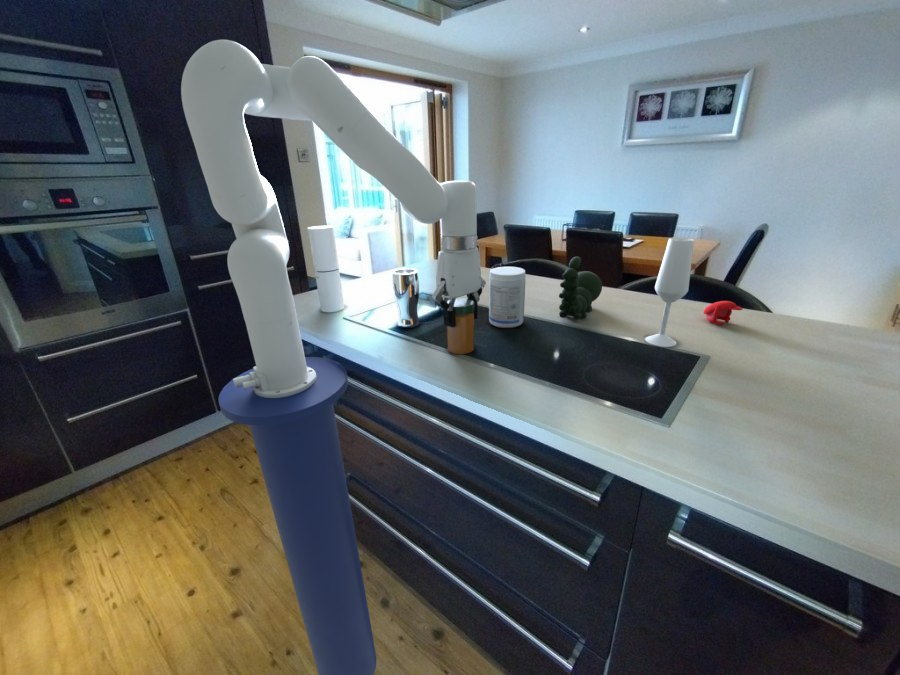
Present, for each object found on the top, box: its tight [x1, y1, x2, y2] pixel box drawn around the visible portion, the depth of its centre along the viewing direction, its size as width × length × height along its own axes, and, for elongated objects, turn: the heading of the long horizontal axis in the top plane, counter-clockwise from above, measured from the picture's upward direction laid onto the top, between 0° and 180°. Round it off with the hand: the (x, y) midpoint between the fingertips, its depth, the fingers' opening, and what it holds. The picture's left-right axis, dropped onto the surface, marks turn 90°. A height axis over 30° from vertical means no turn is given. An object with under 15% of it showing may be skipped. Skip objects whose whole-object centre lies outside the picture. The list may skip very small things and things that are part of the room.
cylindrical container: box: [307, 225, 345, 313], centre depth 118 cm, size 7×7×25 cm
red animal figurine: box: [702, 300, 743, 326], centre depth 102 cm, size 8×6×6 cm
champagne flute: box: [644, 237, 695, 348], centre depth 88 cm, size 7×7×24 cm
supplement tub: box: [488, 266, 527, 329], centre depth 104 cm, size 10×10×15 cm
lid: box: [447, 297, 475, 315], centre depth 88 cm, size 7×7×2 cm
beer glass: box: [392, 267, 421, 329], centre depth 105 cm, size 7×7×15 cm
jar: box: [446, 312, 475, 355], centre depth 90 cm, size 6×6×11 cm
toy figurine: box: [558, 256, 603, 321], centre depth 109 cm, size 9×19×25 cm
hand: (461, 321), depth 90 cm, fingers closed on lid, 6 cm apart
